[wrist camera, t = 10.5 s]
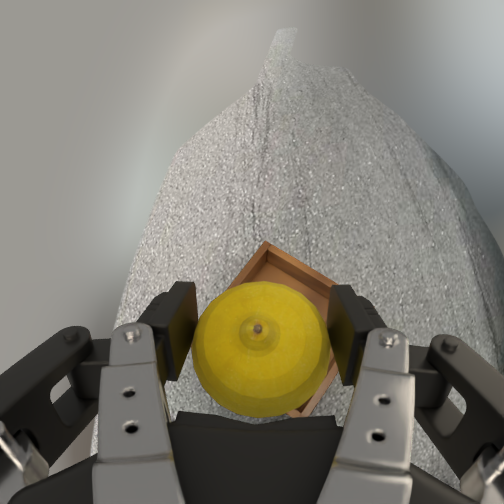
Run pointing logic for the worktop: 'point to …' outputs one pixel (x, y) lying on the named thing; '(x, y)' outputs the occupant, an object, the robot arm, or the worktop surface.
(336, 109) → the worktop surface
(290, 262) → the crate
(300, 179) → the worktop surface
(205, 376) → the fruit
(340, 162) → the worktop surface
